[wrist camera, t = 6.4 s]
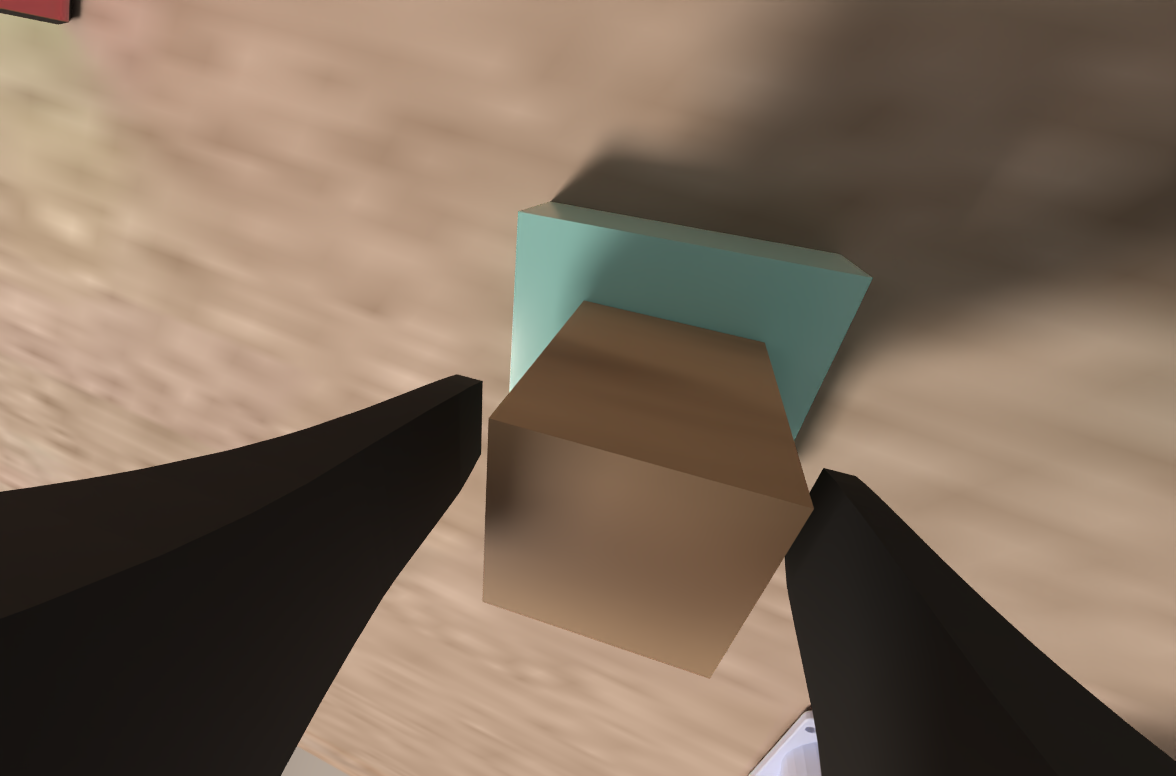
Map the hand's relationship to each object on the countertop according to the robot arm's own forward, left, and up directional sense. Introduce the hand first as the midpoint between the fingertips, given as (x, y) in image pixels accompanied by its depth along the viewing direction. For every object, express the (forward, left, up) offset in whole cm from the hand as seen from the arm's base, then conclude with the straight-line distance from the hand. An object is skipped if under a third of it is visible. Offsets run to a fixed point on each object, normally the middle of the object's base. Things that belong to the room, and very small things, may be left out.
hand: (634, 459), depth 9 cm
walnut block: (0, 0, -3) cm, 3 cm away
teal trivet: (0, 0, -6) cm, 6 cm away
